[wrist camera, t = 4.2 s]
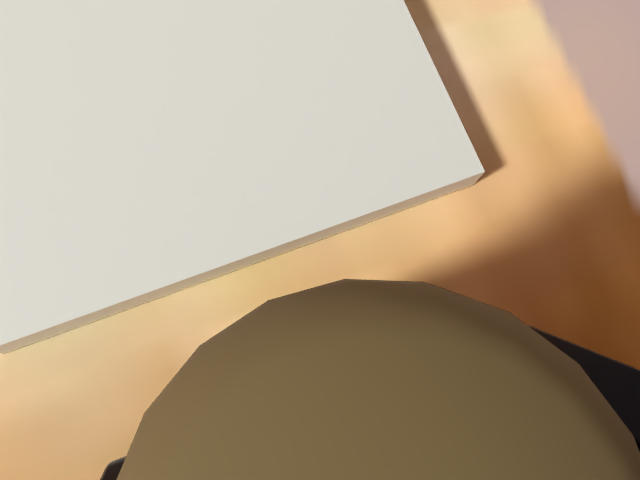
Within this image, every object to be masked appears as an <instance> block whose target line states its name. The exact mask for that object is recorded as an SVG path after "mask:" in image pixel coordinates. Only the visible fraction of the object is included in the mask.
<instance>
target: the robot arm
mask: <svg viewBox="0 0 640 480" xmlns="http://www.w3.org/2000/svg"><path fill="white" fill-rule="evenodd" d="M526 325H527V324H526ZM527 326H529V325H527ZM529 327H530V328H531V329H533V330H534V331H535V332H537V333H538V334H540V335H541V336H542V337H544V338H545V339H546V340H548V341H549V342H550V343H552V344H553V345H554V346H556V347H557V348H558V349H560V350H561V351H562V352H564V353H565V354H566V355H568V356H569V357H570V358H572V359H573V360H574V361H576V362H577V363H579V365H580V366H581V367H582V369H583V370H584V371H585V373H586V374H587V375H588V377H589V378H590V379H591V381H592V382H593V383H594V385H595V386H596V387H597V388H598V390H599V391H600V392H601V394H602V395H603V396H604V398H605V399H606V400H607V402H608V403H609V404H610V406H611V407H612V408H613V410H614V411H615V412H616V413H617V415H618V416H619V417H620V419H621V420H622V421H623V423H624V424H625V425H626V427H627V428H628V429H629V431H630V432H631V433H632V435H633V436H634V439H635V441H636V444H637V447H638V449H639V452H640V370H638V369H636V368H633V367H631V366H629V365H626V364H624V363H621V362H619V361H616V360H614V359H611V358H609V357H606V356H604V355H601V354H599V353H596V352H594V351H591V350H589V349H586V348H584V347H581V346H579V345H576V344H574V343H571V342H569V341H567V340H564V339H562V338H559V337H557V336H554V335H552V334H549V333H547V332H544V331H542V330H539V329H537V328H534V327H532V326H529ZM125 458H126V456H125V457H122V458H120V459H117V460H115V461H112V462H111V463H109V464H108V466H107V467H106V468H105V470H104V472H103V475H102V477H101V479H100V480H117V478H118V475H119V473H120V470H121V468H122V466H123V463H124V461H125Z"/></svg>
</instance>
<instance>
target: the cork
mask: <svg viewBox="0 0 640 480" xmlns="http://www.w3.org/2000/svg"><path fill="white" fill-rule="evenodd" d="M117 480H640V452H639V449H638V447H637V444H636V441H635V439H634V436H633V435H632V433H631V432H630V431H629V429H628V428H627V427H626V425H625V424H624V423H623V421H622V420H621V419H620V417H619V416H618V415H617V413H616V412H615V411H614V410H613V408H612V407H611V406H610V404H609V403H608V402H607V400H606V399H605V398H604V396H603V395H602V394H601V392H600V391H599V390H598V388H597V387H596V386H595V385H594V383H593V382H592V381H591V379H590V378H589V377H588V375H587V374H586V373H585V371H584V370H583V369H582V367H581V366H580V365H579V363H577V362H576V361H574V360H573V359H572V358H570V357H569V356H568V355H566V354H565V353H564V352H562V351H561V350H560V349H558V348H557V347H556V346H554V345H553V344H552V343H550V342H549V341H548V340H546V339H545V338H544V337H542V336H541V335H540V334H538V333H537V332H535V331H534V330H533V329H531V328H530V327H529V326H527V325H526V324H525V323H523V322H522V321H521V320H519V319H518V318H517V317H515V316H514V315H513V314H511V313H510V312H507V311H504V310H502V309H499V308H496V307H493V306H490V305H488V304H485V303H482V302H479V301H476V300H474V299H471V298H468V297H465V296H463V295H460V294H457V293H454V292H451V291H449V290H446V289H443V288H440V287H438V286H435V285H432V284H428V283H424V282H409V281H382V280H356V279H343V280H339V281H336V282H332V283H329V284H325V285H321V286H318V287H314V288H311V289H307V290H304V291H300V292H297V293H293V294H289V295H286V296H282V297H279V298H275V299H272V300H268V301H267V302H265V303H264V304H262V305H261V306H259V307H258V308H256V309H255V310H253V311H252V312H250V313H249V314H247V315H245V316H244V317H242V318H241V319H239V320H238V321H236V322H235V323H233V324H232V325H230V326H229V327H227V328H226V329H224V330H223V331H221V332H220V333H218V334H217V335H215V336H214V337H212V338H211V339H209V340H208V341H206V342H205V343H203V344H202V345H200V346H199V347H198V348H197V350H196V351H195V352H194V353H193V354H192V356H191V357H190V358H189V359H188V361H187V362H186V363H185V364H184V365H183V367H182V368H181V369H180V370H179V372H178V373H177V374H176V375H175V376H174V378H173V379H172V380H171V381H170V382H169V384H168V385H167V386H166V387H165V389H164V390H163V391H162V392H161V393H160V395H159V396H158V397H157V398H156V400H155V401H154V402H153V403H152V404H151V406H150V407H149V408H148V409H147V411H146V412H145V413H144V415H143V418H142V420H141V422H140V425H139V427H138V430H137V432H136V434H135V437H134V439H133V442H132V444H131V446H130V449H129V451H128V454H127V456H126V458H125V461H124V463H123V466H122V468H121V470H120V473H119V475H118V478H117Z"/></svg>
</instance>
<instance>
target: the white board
mask: <svg viewBox="0 0 640 480" xmlns="http://www.w3.org/2000/svg"><path fill="white" fill-rule="evenodd" d="M484 172H485V170H484V168H483V166H482V164H481V162H480V160H479V158H478V156H477V154H476V151H475V149H474V147H473V145H472V143H471V141H470V139H469V137H468V135H467V132H466V130H465V128H464V126H463V124H462V122H461V120H460V118H459V116H458V114H457V111H456V109H455V107H454V105H453V103H452V101H451V99H450V97H449V95H448V92H447V90H446V88H445V86H444V84H443V82H442V80H441V78H440V76H439V73H438V71H437V69H436V67H435V65H434V63H433V61H432V59H431V57H430V55H429V52H428V50H427V48H426V46H425V44H424V42H423V40H422V38H421V36H420V33H419V31H418V29H417V27H416V25H415V23H414V21H413V19H412V17H411V14H410V12H409V10H408V8H407V6H406V4H405V2H404V0H0V353H1V354H5V353H8V352H11V351H14V350H17V349H19V348H22V347H25V346H28V345H30V344H33V343H36V342H39V341H42V340H44V339H47V338H50V337H53V336H55V335H58V334H61V333H64V332H67V331H69V330H72V329H75V328H78V327H80V326H83V325H86V324H89V323H91V322H94V321H97V320H100V319H103V318H105V317H108V316H111V315H114V314H116V313H119V312H122V311H125V310H128V309H130V308H133V307H136V306H139V305H141V304H144V303H147V302H150V301H152V300H155V299H158V298H161V297H164V296H166V295H169V294H172V293H175V292H177V291H180V290H183V289H186V288H189V287H191V286H194V285H197V284H200V283H202V282H205V281H208V280H211V279H214V278H216V277H219V276H222V275H225V274H227V273H230V272H233V271H236V270H238V269H241V268H244V267H247V266H250V265H252V264H255V263H258V262H261V261H263V260H266V259H269V258H272V257H275V256H277V255H280V254H283V253H286V252H288V251H291V250H294V249H297V248H299V247H302V246H305V245H308V244H311V243H313V242H316V241H319V240H322V239H324V238H327V237H330V236H333V235H336V234H338V233H341V232H344V231H347V230H349V229H352V228H355V227H358V226H360V225H363V224H366V223H369V222H372V221H374V220H377V219H380V218H383V217H385V216H388V215H391V214H394V213H397V212H399V211H402V210H405V209H408V208H410V207H413V206H416V205H419V204H422V203H424V202H427V201H430V200H433V199H435V198H438V197H441V196H444V195H446V194H449V193H452V192H455V191H458V190H460V189H463V188H466V187H469V186H471V185H474V184H475V183H476V181H477V180H478V179H479V178H480V177H481V176H482V175H483V174H484Z"/></svg>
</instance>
